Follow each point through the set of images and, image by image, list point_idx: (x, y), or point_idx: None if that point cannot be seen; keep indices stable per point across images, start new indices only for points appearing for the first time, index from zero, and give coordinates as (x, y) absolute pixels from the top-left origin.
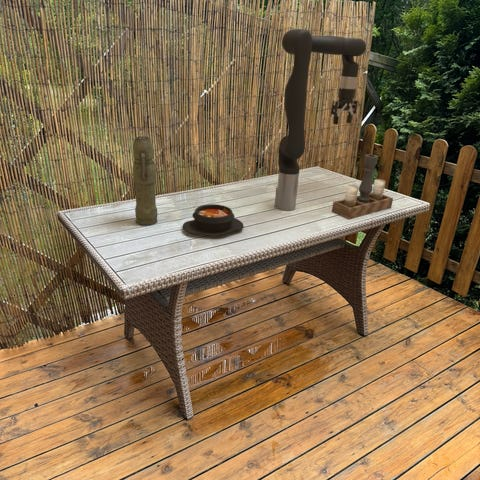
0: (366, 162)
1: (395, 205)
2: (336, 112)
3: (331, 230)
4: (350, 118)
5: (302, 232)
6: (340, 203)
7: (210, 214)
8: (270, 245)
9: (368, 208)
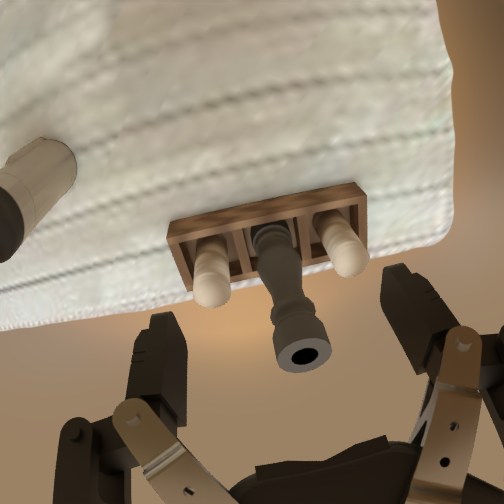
0: (273, 343)
1: (381, 224)
2: (128, 478)
3: (121, 308)
4: (403, 347)
5: (62, 301)
6: (180, 255)
7: None
8: (11, 322)
9: None
